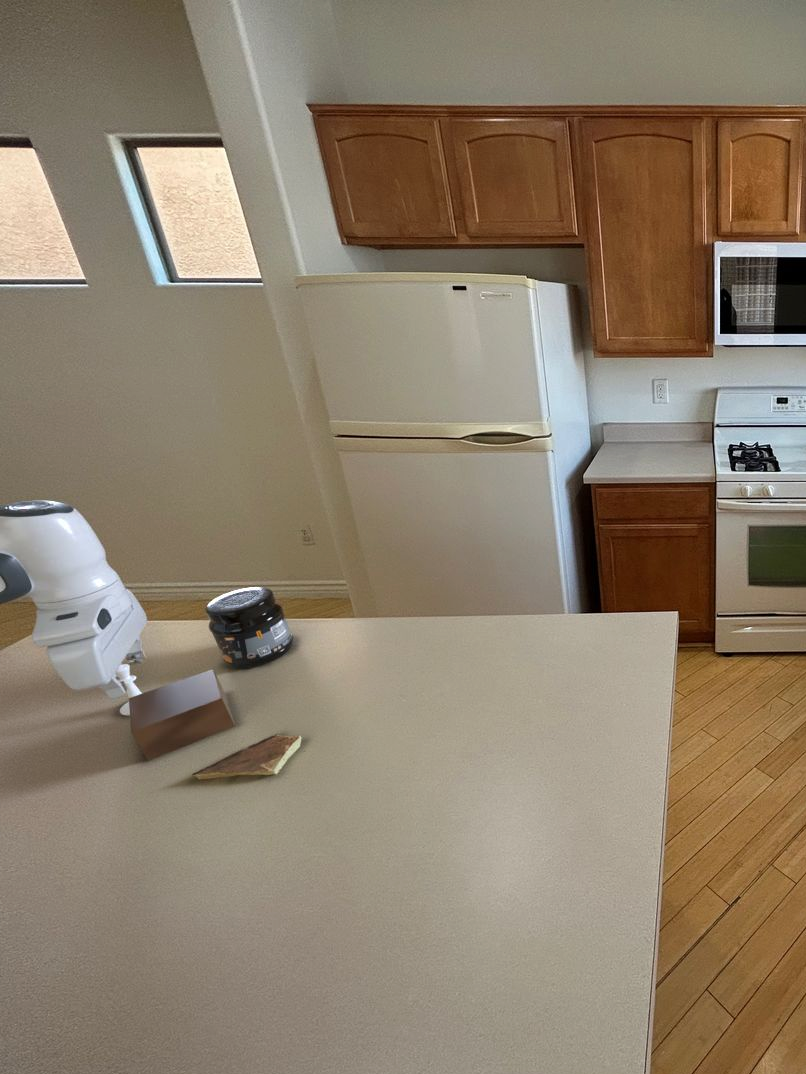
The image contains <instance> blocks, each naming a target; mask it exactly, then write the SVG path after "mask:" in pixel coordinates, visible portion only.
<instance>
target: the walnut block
mask: <svg viewBox="0 0 806 1074" xmlns="http://www.w3.org/2000/svg"><path fill="white" fill-rule="evenodd" d="M141 693H142V694H139V695H137V696H134V697H131V698H129V697H128V701H129V709H130V715H129V722H130V723H129V724H130V733H131V734H132V736H133V738H134V740H135V741H136V743H137V745H138V747H139V749H140V750H141V752H142V754H143V755H144V757H145V759H146V761H147V762H149V761H152V760H155V759H158V758H160V757H163V756H165V755H167V754H170V753H173V752H174V751H177V750H180V749H182V748H184V747H187V746H189V745H192V744H194V743H197V742H199V741H201V740H204V739H207V738H209V737H213V736H214V735H216V734H219V733H222V732H225V731H226V730H229V729H231V728H234V727H236V725H235V721H234V718H233V715H232V711H231V708H230V704H229V701H228V699H227V695H226V692H225V690H224V688H223V687H222V684H221V682H220V680H219V677H218V675H217V674H216V672H215V669H214V668H213V669H210V670H206V671H204V672H201V673H198V674H195V675H192V676H190V677H189V676H188V677H187V678H183V679H181V680H178V681H174V682H172V683H169V684H166V685H163V686H160V687H157V688H154V689H152V690H148V691H145V692H141Z"/></svg>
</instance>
